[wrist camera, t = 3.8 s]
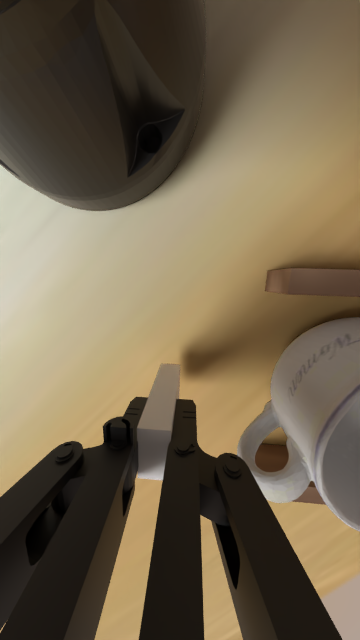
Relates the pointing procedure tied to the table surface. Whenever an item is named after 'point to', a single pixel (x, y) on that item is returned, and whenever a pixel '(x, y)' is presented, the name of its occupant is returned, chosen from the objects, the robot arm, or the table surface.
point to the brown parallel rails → (304, 284)
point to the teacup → (314, 420)
